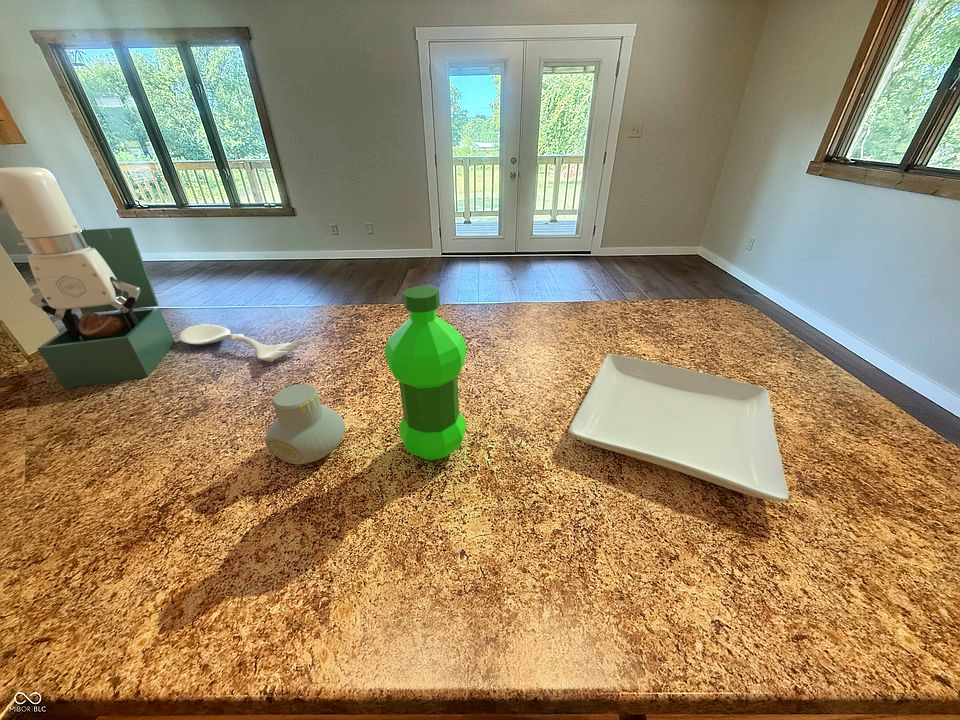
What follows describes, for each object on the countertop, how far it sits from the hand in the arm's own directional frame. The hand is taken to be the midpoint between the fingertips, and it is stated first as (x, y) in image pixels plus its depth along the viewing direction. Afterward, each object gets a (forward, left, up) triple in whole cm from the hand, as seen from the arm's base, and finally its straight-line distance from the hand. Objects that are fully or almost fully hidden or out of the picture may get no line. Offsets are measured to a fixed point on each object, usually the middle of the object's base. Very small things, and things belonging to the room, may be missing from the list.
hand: (107, 331), depth 77 cm
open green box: (0, 0, -8) cm, 8 cm away
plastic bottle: (+57, -46, -8) cm, 74 cm away
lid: (0, +9, +10) cm, 13 cm away
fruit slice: (0, 0, -1) cm, 1 cm away
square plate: (+95, -53, -8) cm, 109 cm away
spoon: (+22, 0, -8) cm, 23 cm away
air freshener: (+39, -40, -8) cm, 56 cm away
